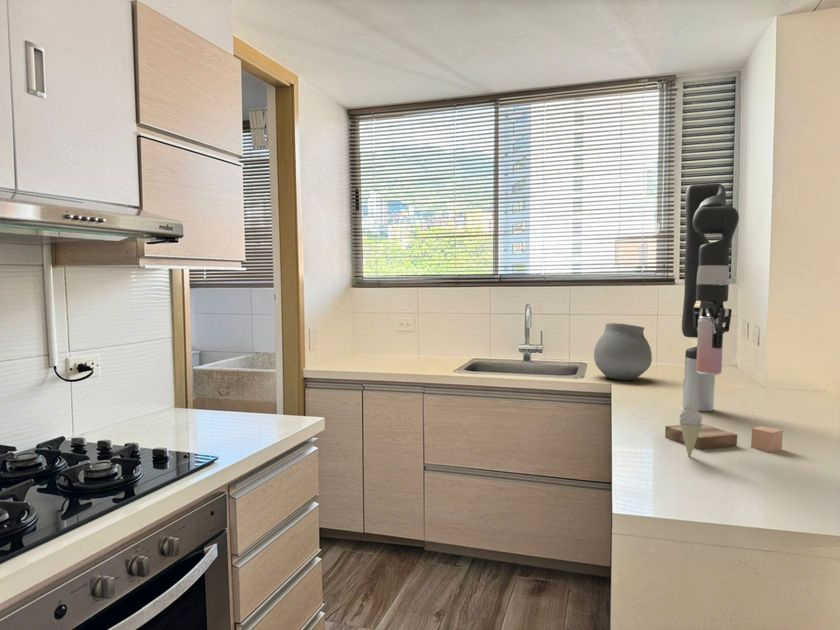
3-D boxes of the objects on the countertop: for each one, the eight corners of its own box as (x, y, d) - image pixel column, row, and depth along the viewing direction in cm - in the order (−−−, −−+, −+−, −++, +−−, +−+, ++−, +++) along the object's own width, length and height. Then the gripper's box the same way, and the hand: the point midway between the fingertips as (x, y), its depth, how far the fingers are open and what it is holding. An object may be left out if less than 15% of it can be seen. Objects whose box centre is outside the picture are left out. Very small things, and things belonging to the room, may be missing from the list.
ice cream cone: (674, 456, 134) (677, 394, 133) (682, 451, 138) (685, 391, 137) (696, 460, 130) (699, 397, 130) (704, 456, 134) (706, 394, 133)
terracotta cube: (751, 447, 143) (751, 428, 143) (760, 444, 146) (761, 425, 145) (771, 452, 139) (772, 432, 138) (781, 449, 141) (782, 430, 141)
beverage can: (698, 371, 152) (701, 316, 151) (723, 373, 148) (726, 317, 147) (693, 373, 147) (696, 316, 146) (718, 376, 143) (721, 317, 143)
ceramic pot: (657, 384, 235) (659, 325, 234) (597, 382, 239) (599, 324, 238) (643, 376, 259) (645, 322, 258) (589, 373, 263) (591, 321, 262)
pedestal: (665, 436, 151) (665, 426, 151) (700, 434, 155) (700, 423, 155) (699, 449, 140) (700, 437, 140) (736, 446, 144) (737, 434, 143)
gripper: (684, 283, 153) (681, 344, 154) (714, 282, 139) (711, 349, 140) (710, 284, 154) (707, 344, 154) (743, 283, 139) (740, 350, 140)
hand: (709, 346), depth 147 cm, fingers closed on beverage can, 6 cm apart
